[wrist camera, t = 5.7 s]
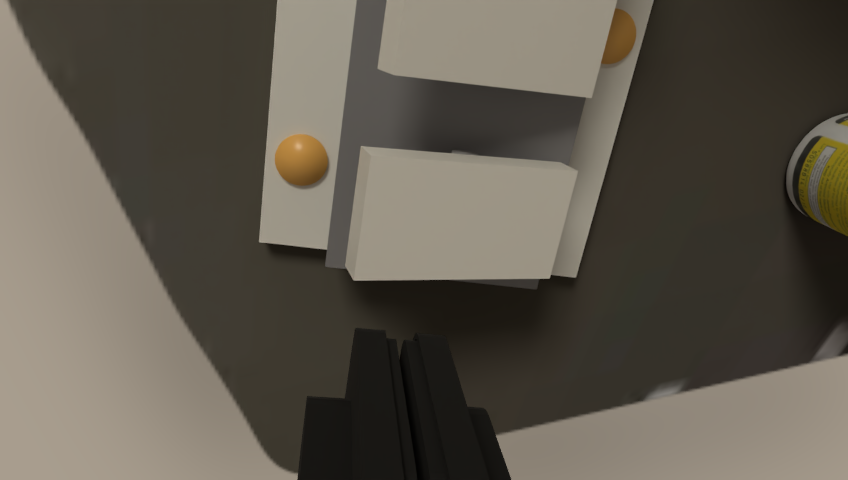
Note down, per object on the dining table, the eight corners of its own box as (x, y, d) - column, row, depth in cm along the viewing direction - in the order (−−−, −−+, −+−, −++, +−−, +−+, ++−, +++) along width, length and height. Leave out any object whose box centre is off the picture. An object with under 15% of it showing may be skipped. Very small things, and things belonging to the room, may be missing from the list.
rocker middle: (587, -35, 22) (626, -34, 20) (557, 88, 23) (591, 98, 22) (388, -87, 18) (417, -91, 16) (368, 65, 19) (393, 75, 18)
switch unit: (715, -265, 23) (797, -325, 18) (569, 269, 30) (603, 312, 26) (309, -376, 20) (298, -474, 16) (262, 234, 28) (246, 275, 24)
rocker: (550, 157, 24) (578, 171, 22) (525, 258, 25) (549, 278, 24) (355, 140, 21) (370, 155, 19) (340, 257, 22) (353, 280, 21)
